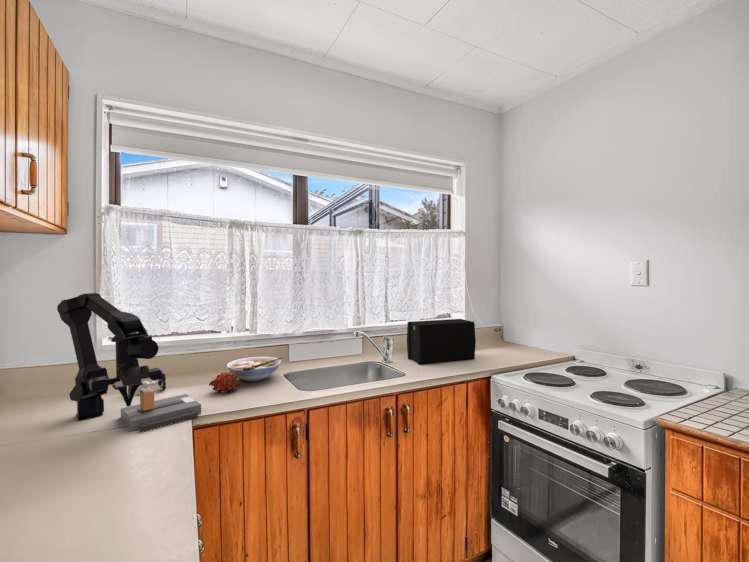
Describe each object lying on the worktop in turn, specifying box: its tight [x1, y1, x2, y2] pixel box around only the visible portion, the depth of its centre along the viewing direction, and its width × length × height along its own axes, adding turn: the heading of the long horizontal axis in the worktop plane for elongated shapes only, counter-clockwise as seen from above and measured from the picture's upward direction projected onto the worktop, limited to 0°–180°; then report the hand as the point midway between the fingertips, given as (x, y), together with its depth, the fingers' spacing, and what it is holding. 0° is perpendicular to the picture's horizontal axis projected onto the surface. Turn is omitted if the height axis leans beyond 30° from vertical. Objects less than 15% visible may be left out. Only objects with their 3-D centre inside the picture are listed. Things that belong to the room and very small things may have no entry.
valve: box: [134, 373, 167, 396], centre depth 146 cm, size 7×7×12 cm
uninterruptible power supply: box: [406, 318, 477, 366], centre depth 197 cm, size 16×34×20 cm, turn 109°
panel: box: [120, 393, 202, 432], centre depth 123 cm, size 20×15×3 cm
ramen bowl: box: [226, 356, 285, 382], centre depth 163 cm, size 25×23×8 cm
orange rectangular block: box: [139, 387, 155, 411], centre depth 120 cm, size 3×4×6 cm
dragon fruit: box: [208, 370, 242, 394], centre depth 147 cm, size 8×8×12 cm
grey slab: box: [139, 411, 199, 433], centre depth 123 cm, size 16×20×2 cm
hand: (128, 406), depth 116 cm, fingers closed
